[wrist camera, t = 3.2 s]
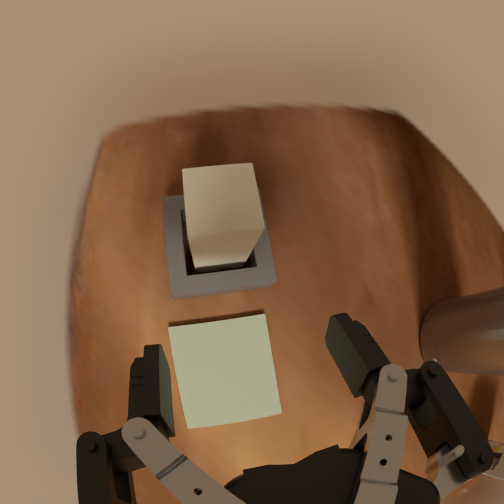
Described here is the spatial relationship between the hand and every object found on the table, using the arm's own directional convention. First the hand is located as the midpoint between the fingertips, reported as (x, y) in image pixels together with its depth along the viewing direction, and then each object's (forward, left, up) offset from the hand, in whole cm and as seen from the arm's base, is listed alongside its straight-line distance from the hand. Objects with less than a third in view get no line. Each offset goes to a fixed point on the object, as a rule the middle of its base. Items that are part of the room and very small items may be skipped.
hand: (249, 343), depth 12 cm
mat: (+1, +4, -13) cm, 14 cm away
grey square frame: (0, -8, -13) cm, 16 cm away
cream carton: (0, -8, -13) cm, 16 cm away
